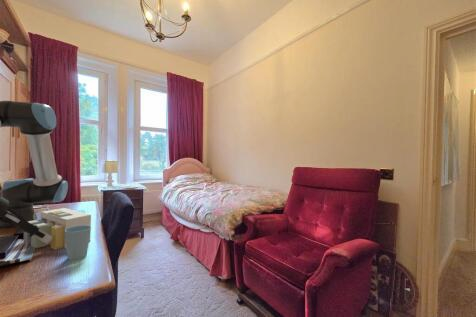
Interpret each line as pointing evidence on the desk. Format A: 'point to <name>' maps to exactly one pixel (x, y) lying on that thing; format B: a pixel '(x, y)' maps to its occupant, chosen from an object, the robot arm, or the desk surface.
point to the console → (67, 218)
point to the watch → (38, 211)
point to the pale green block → (47, 229)
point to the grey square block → (26, 236)
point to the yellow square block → (57, 236)
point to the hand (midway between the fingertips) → (49, 240)
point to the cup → (77, 241)
